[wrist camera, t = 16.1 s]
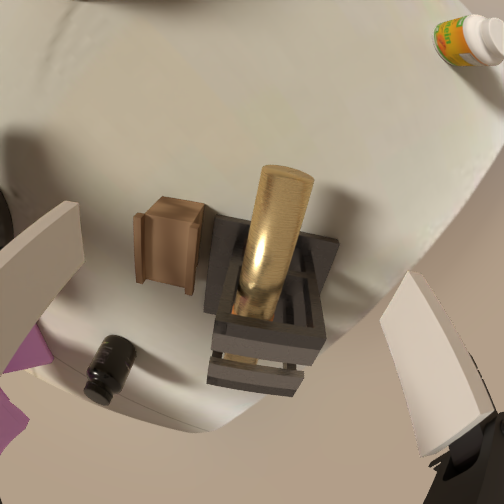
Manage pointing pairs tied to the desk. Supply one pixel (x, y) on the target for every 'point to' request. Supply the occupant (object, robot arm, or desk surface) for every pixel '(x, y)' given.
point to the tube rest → (168, 242)
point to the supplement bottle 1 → (109, 369)
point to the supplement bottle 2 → (470, 41)
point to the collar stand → (262, 331)
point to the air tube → (270, 243)
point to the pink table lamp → (27, 356)
